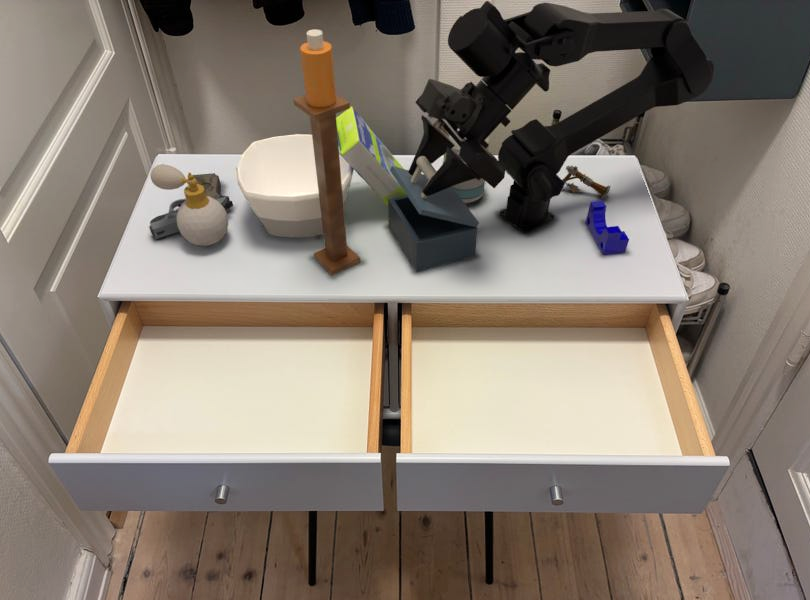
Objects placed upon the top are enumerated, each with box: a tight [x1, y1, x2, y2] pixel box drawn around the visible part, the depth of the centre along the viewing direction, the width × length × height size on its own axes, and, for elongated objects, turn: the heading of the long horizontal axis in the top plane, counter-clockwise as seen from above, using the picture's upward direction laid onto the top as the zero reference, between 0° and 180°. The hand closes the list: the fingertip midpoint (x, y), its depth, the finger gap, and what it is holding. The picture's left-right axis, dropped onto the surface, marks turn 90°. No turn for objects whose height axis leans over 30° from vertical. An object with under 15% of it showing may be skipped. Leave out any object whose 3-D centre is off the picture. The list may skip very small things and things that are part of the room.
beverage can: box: [442, 128, 490, 205], centre depth 106 cm, size 7×7×12 cm
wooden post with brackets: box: [561, 165, 611, 201], centre depth 109 cm, size 2×8×4 cm, turn 72°
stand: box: [293, 93, 361, 276], centre depth 90 cm, size 5×5×25 cm
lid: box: [390, 156, 480, 227], centre depth 95 cm, size 10×12×5 cm
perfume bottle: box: [150, 163, 229, 247], centre depth 98 cm, size 8×10×12 cm
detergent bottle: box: [299, 28, 337, 108], centre depth 78 cm, size 4×4×8 cm
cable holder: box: [584, 200, 630, 256], centre depth 101 cm, size 8×4×4 cm, turn 8°
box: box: [336, 105, 406, 206], centre depth 103 cm, size 10×4×17 cm
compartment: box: [387, 195, 479, 273], centre depth 100 cm, size 10×12×5 cm
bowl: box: [236, 133, 355, 238], centre depth 103 cm, size 18×18×9 cm
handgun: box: [148, 172, 234, 240], centre depth 107 cm, size 2×14×12 cm
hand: (417, 184), depth 93 cm, fingers closed on lid, 5 cm apart
